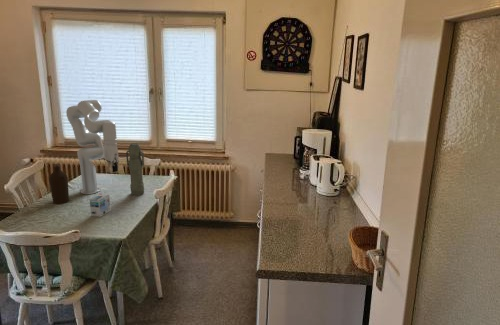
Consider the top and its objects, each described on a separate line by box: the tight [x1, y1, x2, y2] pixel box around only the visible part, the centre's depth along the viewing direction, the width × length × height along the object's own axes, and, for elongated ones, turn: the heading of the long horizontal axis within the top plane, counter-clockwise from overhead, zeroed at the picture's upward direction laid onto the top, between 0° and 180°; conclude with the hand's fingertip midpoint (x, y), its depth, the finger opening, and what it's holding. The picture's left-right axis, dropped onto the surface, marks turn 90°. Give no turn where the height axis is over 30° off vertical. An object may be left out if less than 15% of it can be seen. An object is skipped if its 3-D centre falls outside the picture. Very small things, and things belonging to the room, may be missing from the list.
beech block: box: [106, 161, 120, 174], centre depth 229 cm, size 5×5×6 cm
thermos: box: [125, 142, 145, 196], centre depth 252 cm, size 9×12×35 cm
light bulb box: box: [89, 192, 111, 218], centre depth 221 cm, size 11×7×11 cm, turn 168°
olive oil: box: [48, 163, 70, 205], centre depth 237 cm, size 11×11×25 cm
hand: (112, 170), depth 230 cm, fingers closed on beech block, 5 cm apart
